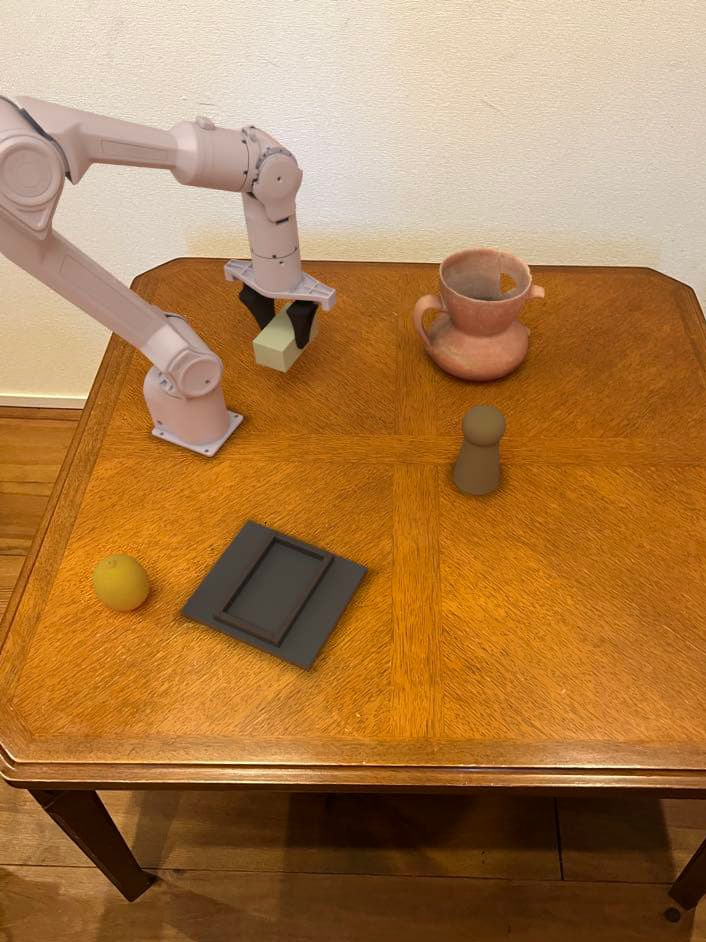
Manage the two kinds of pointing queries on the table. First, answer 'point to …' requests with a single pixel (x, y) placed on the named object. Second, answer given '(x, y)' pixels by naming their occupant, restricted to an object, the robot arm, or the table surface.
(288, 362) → the cream rectangular block
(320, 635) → the base pad
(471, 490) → the brown pawn
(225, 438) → the robot arm
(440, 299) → the ceramic jug
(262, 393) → the table surface
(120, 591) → the lemon
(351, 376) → the table surface
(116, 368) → the table surface
